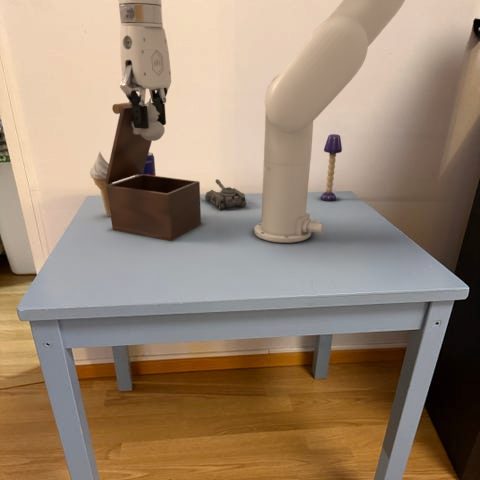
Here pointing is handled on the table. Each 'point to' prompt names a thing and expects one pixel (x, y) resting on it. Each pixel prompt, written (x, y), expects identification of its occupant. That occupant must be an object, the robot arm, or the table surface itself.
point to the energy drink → (149, 166)
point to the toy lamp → (331, 164)
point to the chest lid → (126, 147)
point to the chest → (155, 206)
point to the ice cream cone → (101, 179)
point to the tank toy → (225, 197)
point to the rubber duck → (151, 125)
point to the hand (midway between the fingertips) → (150, 125)
